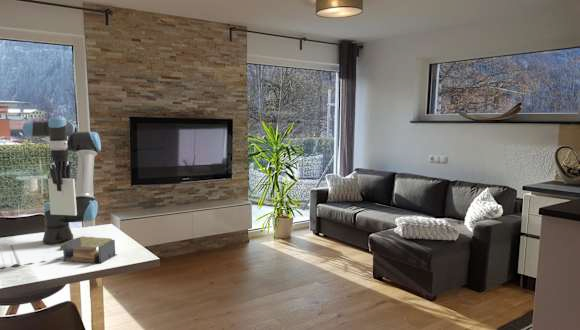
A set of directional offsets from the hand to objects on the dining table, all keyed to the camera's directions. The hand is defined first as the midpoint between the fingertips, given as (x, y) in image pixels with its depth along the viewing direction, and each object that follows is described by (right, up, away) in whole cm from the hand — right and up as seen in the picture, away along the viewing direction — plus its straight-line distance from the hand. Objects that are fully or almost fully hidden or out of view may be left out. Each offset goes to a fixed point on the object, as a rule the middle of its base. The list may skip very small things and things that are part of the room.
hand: (62, 197), depth 209 cm
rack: (+15, -31, -3) cm, 35 cm away
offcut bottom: (+15, -30, -6) cm, 34 cm away
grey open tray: (+2, -29, +20) cm, 35 cm away
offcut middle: (+15, -28, -6) cm, 32 cm away
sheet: (0, -9, +1) cm, 9 cm away
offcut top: (+14, -26, -6) cm, 30 cm away
